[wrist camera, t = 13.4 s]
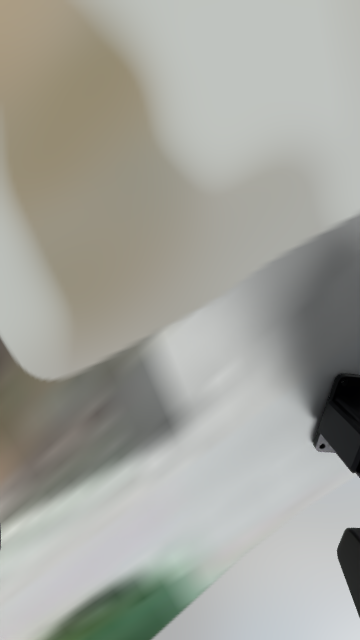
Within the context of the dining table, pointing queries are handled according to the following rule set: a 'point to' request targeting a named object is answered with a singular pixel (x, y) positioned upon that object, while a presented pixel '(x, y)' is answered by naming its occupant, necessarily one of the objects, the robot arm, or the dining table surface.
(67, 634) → the dining table surface
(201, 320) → the dining table surface
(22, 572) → the dining table surface
